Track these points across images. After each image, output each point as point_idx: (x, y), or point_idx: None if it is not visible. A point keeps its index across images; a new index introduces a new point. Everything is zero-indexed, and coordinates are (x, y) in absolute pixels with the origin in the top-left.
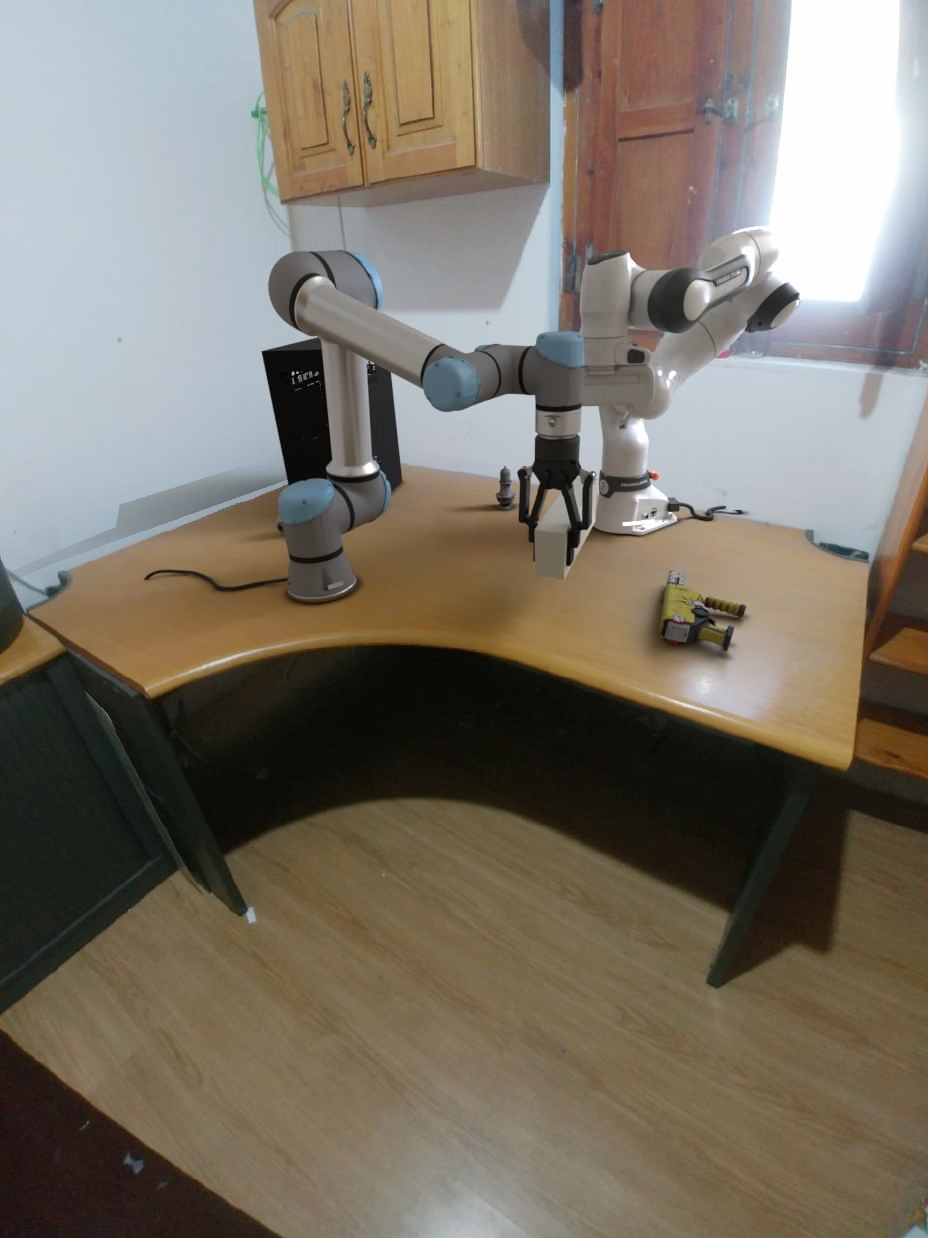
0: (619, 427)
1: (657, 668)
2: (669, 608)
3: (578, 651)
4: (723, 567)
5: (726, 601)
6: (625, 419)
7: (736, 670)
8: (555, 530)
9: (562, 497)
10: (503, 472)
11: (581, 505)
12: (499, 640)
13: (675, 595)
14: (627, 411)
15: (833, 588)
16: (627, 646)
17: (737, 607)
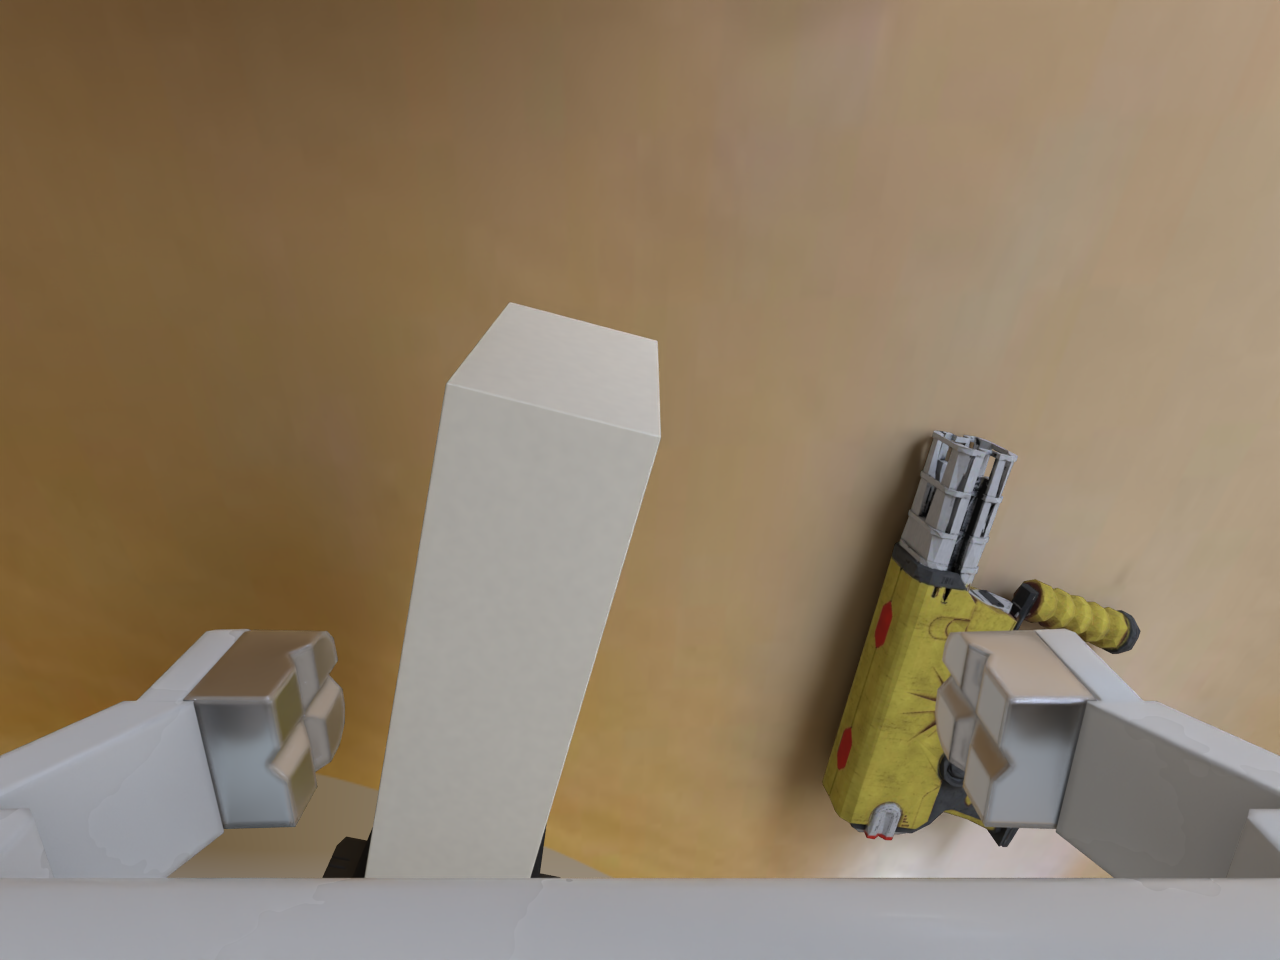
0: (948, 752)
1: (789, 853)
2: (873, 768)
3: (595, 802)
4: (1230, 223)
5: (1087, 624)
6: (1086, 840)
7: (978, 848)
8: None
9: (427, 713)
10: None
11: (550, 806)
12: (371, 769)
13: (918, 678)
14: (1232, 807)
15: None
16: (729, 775)
17: (1107, 646)
